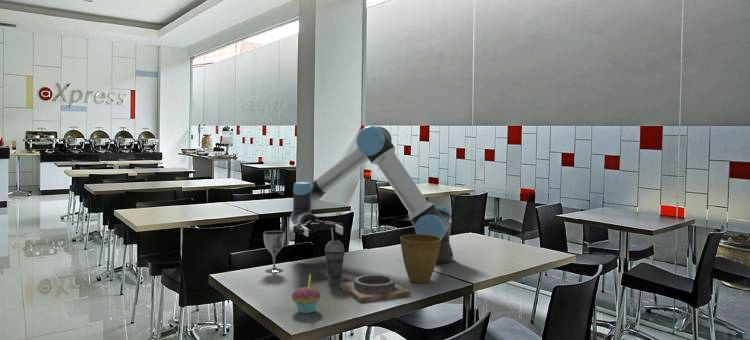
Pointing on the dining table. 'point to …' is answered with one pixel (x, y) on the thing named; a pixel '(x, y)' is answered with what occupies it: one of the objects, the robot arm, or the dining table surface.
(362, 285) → the ring holder
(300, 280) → the dining table surface
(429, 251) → the plant pot
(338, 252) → the beverage cup
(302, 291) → the cupcake
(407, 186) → the robot arm
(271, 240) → the wine glass
